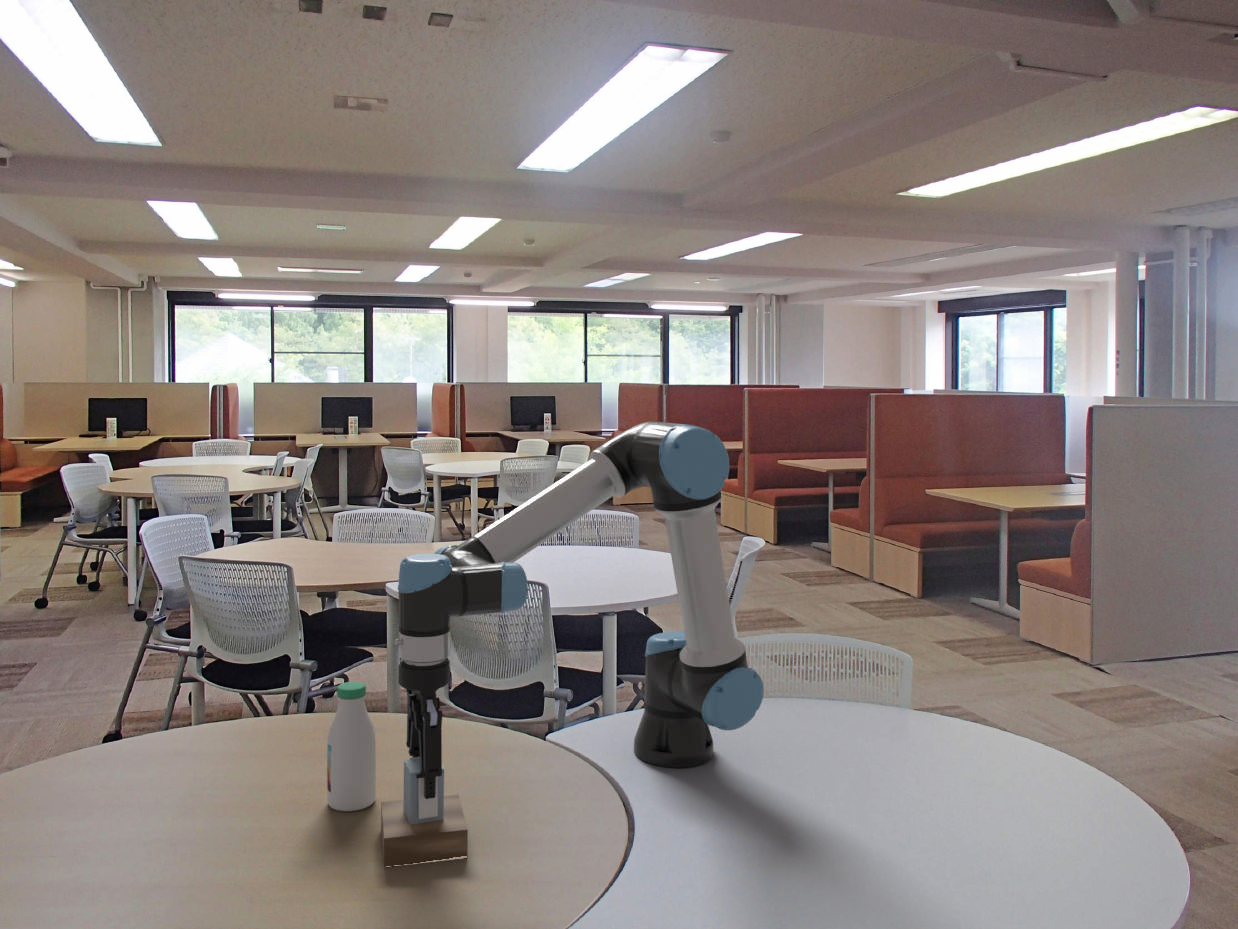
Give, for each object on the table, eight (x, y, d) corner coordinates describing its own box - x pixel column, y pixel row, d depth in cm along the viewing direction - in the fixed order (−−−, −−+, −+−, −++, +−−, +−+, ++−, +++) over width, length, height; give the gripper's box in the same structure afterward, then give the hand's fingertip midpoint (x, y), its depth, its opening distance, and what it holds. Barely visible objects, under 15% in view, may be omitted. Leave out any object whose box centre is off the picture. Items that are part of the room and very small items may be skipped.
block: (403, 810, 151) (403, 760, 150) (435, 805, 153) (436, 756, 152) (410, 824, 146) (410, 773, 145) (443, 819, 148) (444, 768, 147)
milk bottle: (385, 798, 165) (385, 682, 163) (354, 817, 158) (354, 696, 156) (348, 788, 168) (348, 675, 166) (317, 806, 161) (316, 688, 159)
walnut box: (381, 832, 154) (381, 802, 153) (458, 825, 157) (458, 795, 157) (384, 871, 142) (384, 838, 142) (467, 862, 146) (467, 829, 145)
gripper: (387, 643, 154) (387, 785, 156) (411, 680, 137) (411, 839, 139) (434, 639, 157) (433, 778, 159) (464, 675, 140) (463, 830, 142)
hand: (423, 806), depth 149 cm, fingers open, 6 cm apart
